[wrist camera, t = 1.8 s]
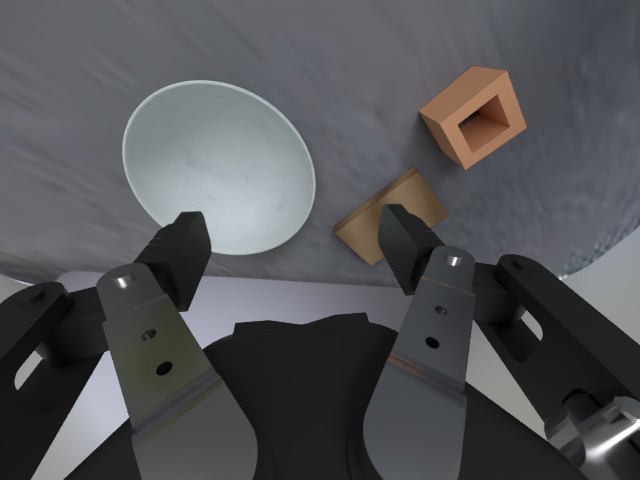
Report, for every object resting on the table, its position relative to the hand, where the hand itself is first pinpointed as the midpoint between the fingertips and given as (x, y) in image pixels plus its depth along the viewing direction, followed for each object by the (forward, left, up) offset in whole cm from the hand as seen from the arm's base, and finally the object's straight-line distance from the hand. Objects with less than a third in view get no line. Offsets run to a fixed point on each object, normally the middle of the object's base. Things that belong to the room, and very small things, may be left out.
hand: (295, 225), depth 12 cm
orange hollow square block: (-12, +10, -18) cm, 24 cm away
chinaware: (+7, -2, -18) cm, 19 cm away
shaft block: (0, +16, -18) cm, 24 cm away
